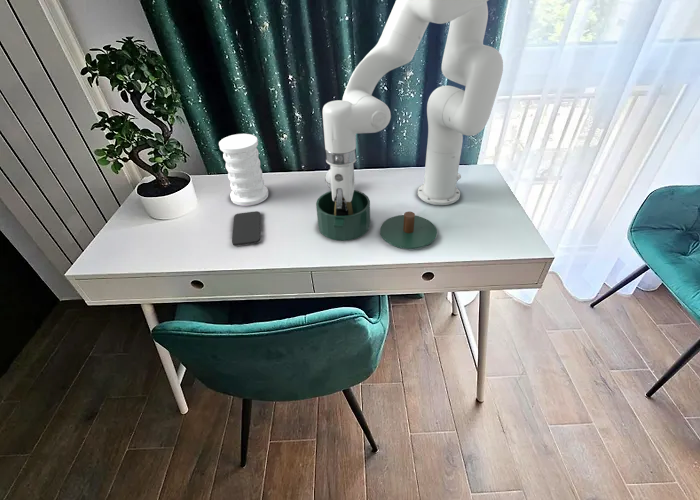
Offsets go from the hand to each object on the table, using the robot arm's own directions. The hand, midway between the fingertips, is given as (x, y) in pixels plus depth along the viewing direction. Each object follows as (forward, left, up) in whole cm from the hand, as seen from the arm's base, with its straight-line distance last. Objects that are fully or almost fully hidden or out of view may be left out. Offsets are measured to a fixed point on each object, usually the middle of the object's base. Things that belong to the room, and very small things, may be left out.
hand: (343, 216), depth 109 cm
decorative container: (+6, -34, -3) cm, 35 cm away
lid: (-8, +16, -2) cm, 18 cm away
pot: (0, 0, -3) cm, 3 cm away
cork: (0, 0, -2) cm, 2 cm away
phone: (+18, -20, -3) cm, 27 cm away
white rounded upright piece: (-13, -14, -3) cm, 19 cm away
